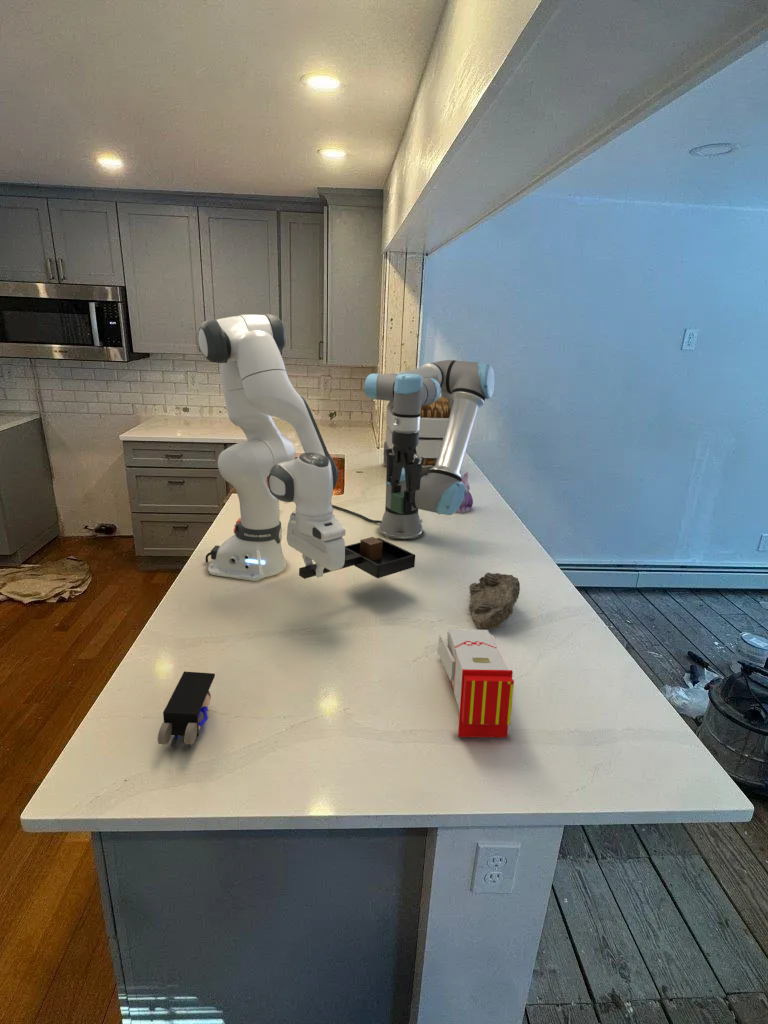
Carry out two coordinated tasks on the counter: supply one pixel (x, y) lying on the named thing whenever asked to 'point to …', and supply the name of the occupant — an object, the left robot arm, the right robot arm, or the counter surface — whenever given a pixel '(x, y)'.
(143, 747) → the counter surface
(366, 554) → the walnut block
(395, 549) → the pan
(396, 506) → the green block
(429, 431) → the transformer
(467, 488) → the figurine
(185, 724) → the figurine character
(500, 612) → the fossil
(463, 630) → the toy
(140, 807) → the counter surface
